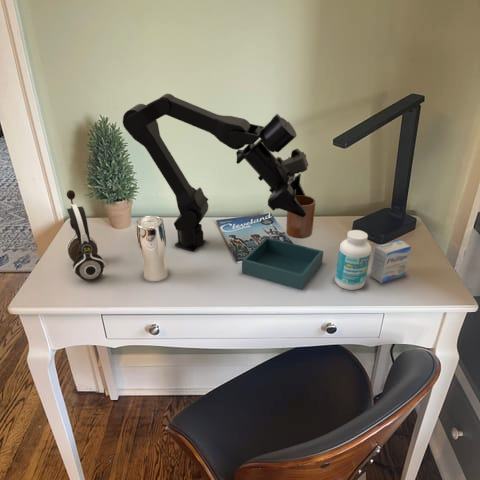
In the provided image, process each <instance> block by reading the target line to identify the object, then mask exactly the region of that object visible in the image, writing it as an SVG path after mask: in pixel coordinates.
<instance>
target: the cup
mask: <svg viewBox="0 0 480 480" xmlns="http://www.w3.org/2000/svg"><path fill="white" fill-rule="evenodd" d="M305 195H306V194H305ZM305 195H295V197H296V199H297V201H298V202H299V204H300V205H301V207H302V208H303V210H304V211H305V213H306V216H305V217H301V216H298V215H296V214H293V213H291V212H288V211H286V224H285V225H286V227H285V232H286V235H287V236H288V237H290V238H293V239H298V240H299V239H307V238H310V237H311V236H312V235H313V229H314V220H315V210H316V202H317V201H316V199H315V198H313V197H312V196H309V195H306V196H305Z"/></svg>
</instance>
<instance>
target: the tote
mask: <svg viewBox="0 0 480 480" xmlns="http://www.w3.org/2000/svg"><path fill="white" fill-rule="evenodd" d="M323 260H324V250H320V249H316V248H313V247H308V246H304V245H301V244H296V243H292V242H288V241H283V240H280V239H276V238H272V237H265V238H264V239H262V240H261V241H260V242H259V243H258V244H257V245H256V246H255V247H254V248H253V249H252V250H251V251H250V252H249V253H248V254H246V256H244V257H243V258H242V260H241V274H243V275H246V276H249V277H254V278H257V279H261V280H264V281H267V282H270V283H275V284H278V285H281V286H286V287H289V288H293V289H296V290H300V291H303V289H304V288H305V287H306V285H307V284H308V283H309V282H310V280H311V279H312V278H313V276H314V275H315V274H316V273H317V271H318V270H319V269H320V268H321V266H322V265H323Z"/></svg>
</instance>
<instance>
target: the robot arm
mask: <svg viewBox="0 0 480 480" xmlns="http://www.w3.org/2000/svg"><path fill="white" fill-rule="evenodd" d="M164 116H168V117H170V118H174V119H175V120H178V121H181V122H182V123H185V124H188V125H190V126H191V127H195V128H197V129H200V130H202V131H204V132H207V133H209V134H211V135H213V136H214V137H215V139H217V140H218V141H219V142H220V143H222V144H223V145H225V146H226V147H228V148H230V149H232V150H236V152H235V155H236V162H235V163H236V164H237V165H239V164H240V163H242V161H244V160H245V162H247V164H248V165H250V167H251V168H252V169H253V170H254V171H255V172H256V173H257V175H258V180H259V181H260V182H261V181H264V183H266V185H268V187H269V192H270V194H269V197H268V199H267V206H268V207H269V208H270V209H271V210H272V211H273V212H274V211H275V210H282V211H284V212H285V211H286V212H287V211H288V212H291V213H293V214H296V215H298V216H301V217H305V216H306V213H305V211H304V210H303V208H302V207H301V205H300V204H299V202H298V201H297V199H296V197H295V195H305V196H307V195H306V193H305V191H304V189H303V187H302V184H301V177H302V174H301V173H304V172H306V171H307V170H308V167H309V162H308V160H307V154H306V153H305V152H304V151H301V150H300V149H299V148H295V149H292V150H291V154H290V156H288V158H285V159H282V157H281V156H277V157H276V156H275V155H274V154H273V153H279V152H281V151H282V150H283V149H284V148H285V147H286V146H287V145H289V144H290V143H291V142H292V141H293V140H294V139H296V137H297V132H296V129H295V128H294V127H293V125H292V124H291V122H290V121H287V120H286V119H285V118H283V117H281V116H280V115H279V113H275V115H273V117H272V118H271V119H270V121H268V123H266V125H264V126H263V125H258V124H253V123H250V122H249V120H247V119H245V118H243V117H238V116H233V115H222V114H217V113H215V112H213V111H210V110H207V109H205V108H203V107H200V106H197V105H195V104H193V103H191V102H188V101H186V100H183V99H181V98H178V97H176V96H174V95H173V94H171V93H164V94H163V95H161V96H159V98H157V99H155V100H152V101H151V102H149V103H147V104H144V103H138V104H135V106H133V107H131V108H129V109H128V110H127V111H126V112H124V114H123V116H122V126H123V128H124V130H126V132H127V133H128V134H129V135H130V136H131V137H132V139H133V140H134V141H135V142H137V143H139V144H140V145H141V146H143V147H144V148H145V150H146V151H147V153H148V154H149V156H150V158H151V159H152V161H153V162H154V164H155V166H156V167H157V168H158V170H159V171H160V173H161V176H162V177H163V178H164V179H165V181H166V183H167V184H168V186H169V188H170V189H171V191H172V193H173V194H174V196H175V199H176V205H177V209H178V211H179V215H178V217H177V218H176V220H175V221H174V222H173V226H174V228H175V230H176V232H177V242H176V243H175V244H174V247H177V248H181V249H184V250H187V251H190V252H195V251H196V250H198V249H199V248H200V247H202V246H203V245H204V244H205V243H206V242H207V240H205V239H204V230H203V225H202V224H201V222H202V220H203V219H204V217H205V215H206V214H207V212H208V211H209V203H208V201H209V198H208V197H207V196H206V195H205V194H204V192H203V189H202V188H201V187H198V188H194V187H193V186H192V185H191V184H190V182H189V181H188V179H187V178H186V176H185V174H184V173H183V171H182V170H181V168H180V166H179V164H178V163H177V161H176V160H175V157H174V156H173V155H172V152H171V151H170V150H169V148H168V147H167V145H166V143H165V142H164V140H163V138H162V136H161V133H160V132H161V131H160V128H159V127H160V126H159V123H158V120H159V119H160V118H162V117H164ZM296 174H297V175H296Z"/></svg>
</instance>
